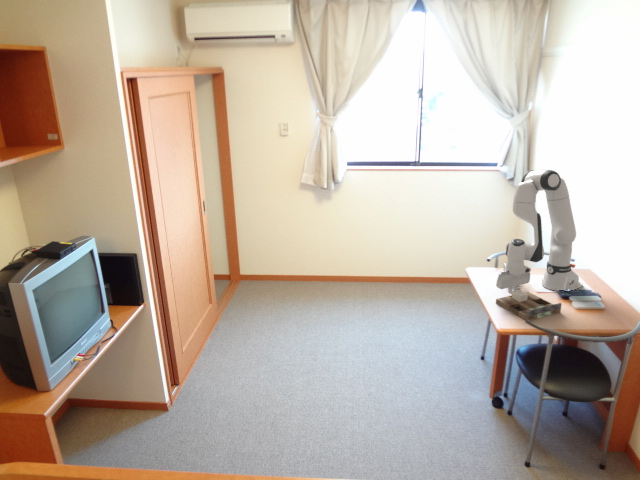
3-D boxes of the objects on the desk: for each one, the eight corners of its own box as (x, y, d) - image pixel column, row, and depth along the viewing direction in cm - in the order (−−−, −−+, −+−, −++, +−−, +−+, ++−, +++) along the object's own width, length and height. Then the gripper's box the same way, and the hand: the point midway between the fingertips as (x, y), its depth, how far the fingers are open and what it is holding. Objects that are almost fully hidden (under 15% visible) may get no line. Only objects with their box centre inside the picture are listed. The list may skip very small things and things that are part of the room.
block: (518, 295, 256) (519, 290, 255) (527, 300, 251) (527, 294, 250) (511, 297, 254) (512, 291, 253) (519, 302, 249) (520, 296, 248)
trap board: (527, 295, 262) (528, 287, 260) (560, 312, 242) (561, 303, 241) (495, 303, 254) (496, 294, 252) (527, 321, 235) (528, 312, 233)
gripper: (503, 274, 246) (500, 298, 251) (533, 268, 254) (530, 291, 258) (494, 270, 252) (492, 294, 256) (524, 264, 259) (521, 287, 264)
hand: (511, 293), depth 257 cm, fingers closed
